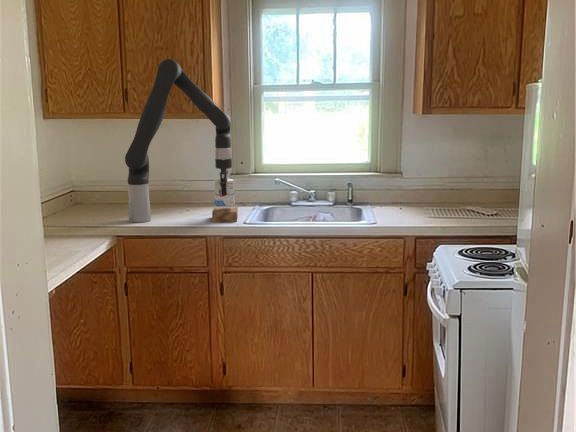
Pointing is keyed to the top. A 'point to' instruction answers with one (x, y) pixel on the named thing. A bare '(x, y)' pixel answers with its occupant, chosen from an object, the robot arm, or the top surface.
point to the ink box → (229, 198)
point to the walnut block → (225, 214)
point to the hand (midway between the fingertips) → (224, 194)
